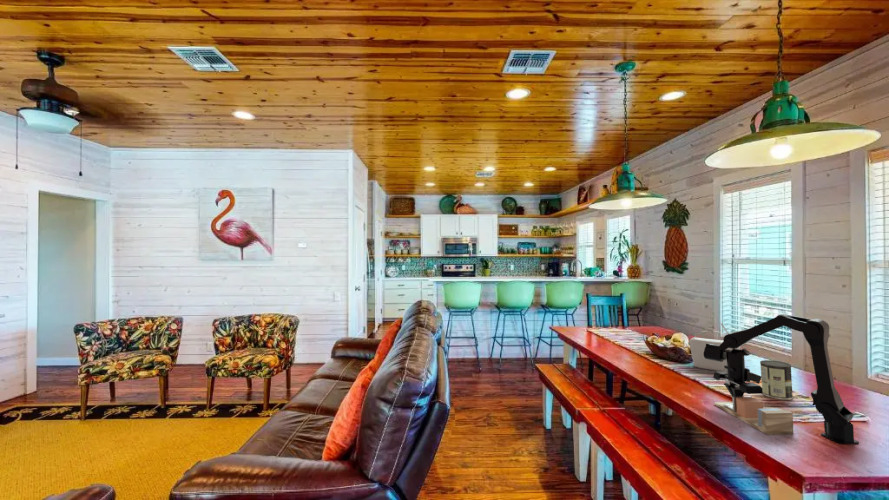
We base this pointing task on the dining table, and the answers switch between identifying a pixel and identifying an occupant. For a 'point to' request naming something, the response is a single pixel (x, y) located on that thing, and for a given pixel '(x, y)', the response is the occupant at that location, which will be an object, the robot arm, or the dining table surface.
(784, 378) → the coffee can
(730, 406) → the bookend
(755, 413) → the terracotta book
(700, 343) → the radio
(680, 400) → the dining table surface
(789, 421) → the beige piece
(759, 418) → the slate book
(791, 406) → the dining table surface
